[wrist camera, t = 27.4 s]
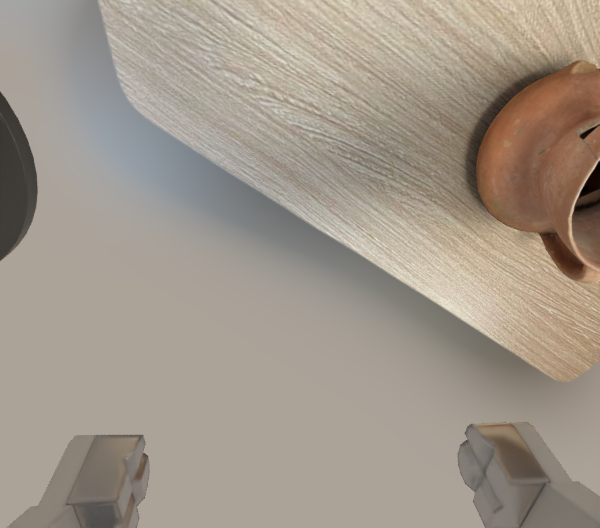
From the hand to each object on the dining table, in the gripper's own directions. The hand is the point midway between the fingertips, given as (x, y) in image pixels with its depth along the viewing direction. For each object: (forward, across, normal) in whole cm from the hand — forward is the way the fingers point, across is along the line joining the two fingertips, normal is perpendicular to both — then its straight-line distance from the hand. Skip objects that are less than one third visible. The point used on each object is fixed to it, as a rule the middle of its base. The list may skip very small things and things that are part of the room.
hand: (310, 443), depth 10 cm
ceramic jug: (+31, -25, -1) cm, 40 cm away
